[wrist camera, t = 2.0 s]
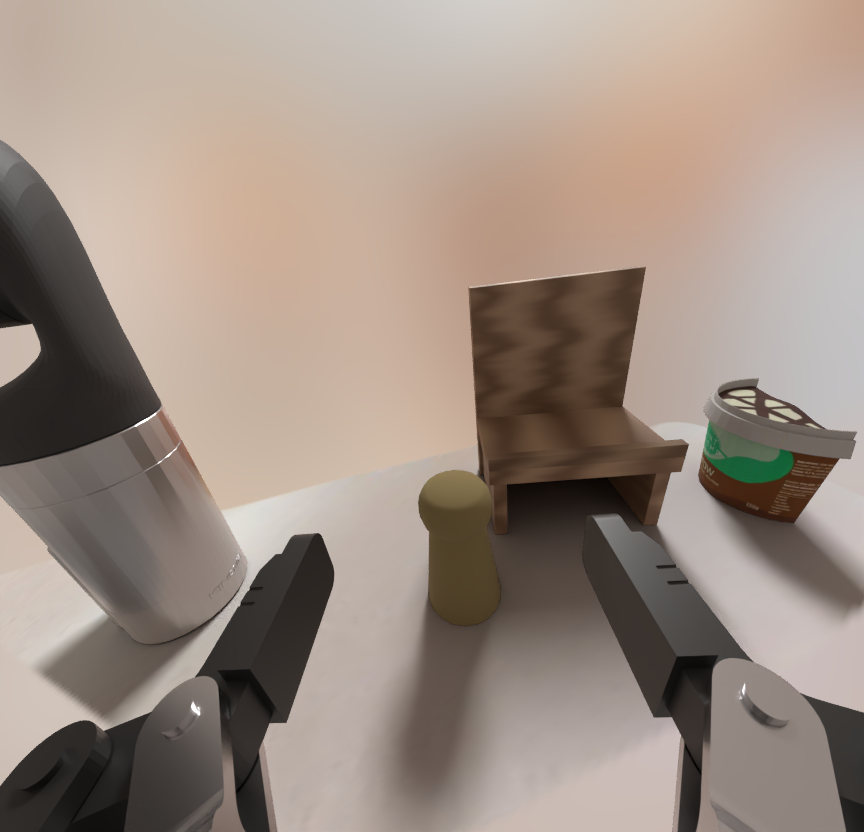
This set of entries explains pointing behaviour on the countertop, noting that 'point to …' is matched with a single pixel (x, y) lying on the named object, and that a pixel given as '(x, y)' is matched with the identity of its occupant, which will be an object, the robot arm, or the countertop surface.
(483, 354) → the wooden chair
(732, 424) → the food container
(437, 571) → the cork
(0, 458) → the robot arm
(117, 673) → the countertop surface
